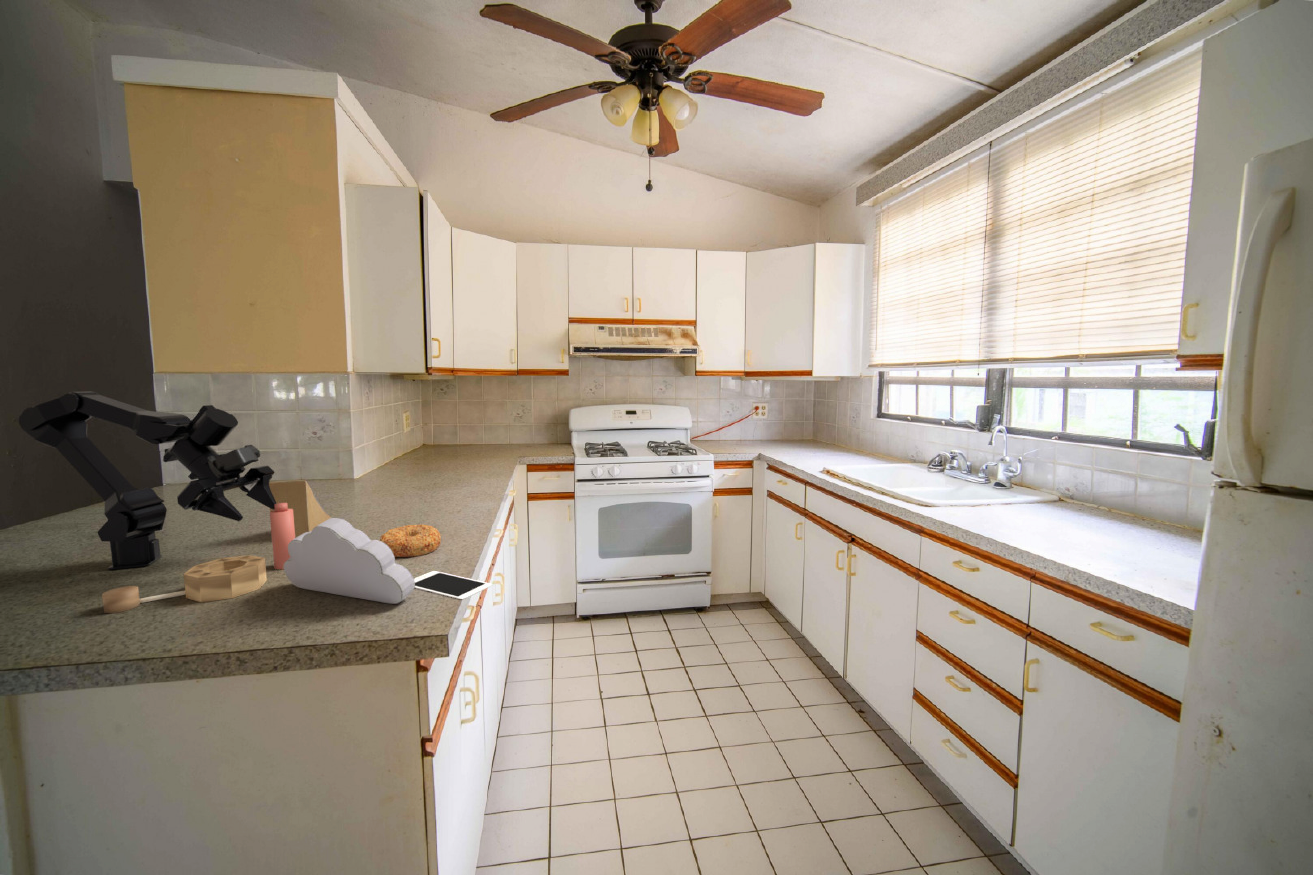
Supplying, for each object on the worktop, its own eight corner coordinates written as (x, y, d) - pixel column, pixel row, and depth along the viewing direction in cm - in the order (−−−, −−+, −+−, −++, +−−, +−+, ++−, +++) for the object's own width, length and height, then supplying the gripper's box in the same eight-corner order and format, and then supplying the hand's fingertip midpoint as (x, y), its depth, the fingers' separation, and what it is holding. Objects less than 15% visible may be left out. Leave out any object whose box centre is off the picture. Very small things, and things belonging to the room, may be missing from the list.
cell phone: (434, 573, 109) (433, 570, 109) (493, 587, 102) (493, 583, 102) (401, 586, 102) (400, 583, 102) (462, 602, 95) (462, 598, 95)
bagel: (401, 540, 130) (400, 520, 129) (452, 543, 128) (451, 523, 127) (365, 558, 117) (364, 536, 116) (422, 561, 115) (420, 539, 114)
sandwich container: (336, 523, 145) (332, 469, 143) (311, 539, 130) (306, 480, 128) (301, 524, 143) (297, 470, 141) (272, 541, 128) (266, 481, 127)
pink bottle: (271, 570, 109) (266, 507, 107) (277, 564, 112) (272, 502, 111) (294, 568, 110) (289, 505, 109) (299, 561, 114) (294, 501, 112)
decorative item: (269, 594, 97) (263, 515, 95) (318, 576, 106) (312, 503, 105) (389, 616, 88) (384, 530, 87) (430, 594, 98) (427, 515, 96)
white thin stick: (117, 608, 91) (116, 603, 91) (118, 606, 92) (117, 602, 92) (208, 590, 98) (207, 586, 98) (208, 589, 99) (207, 585, 99)
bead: (177, 605, 92) (175, 580, 92) (203, 582, 102) (201, 560, 102) (254, 595, 96) (252, 571, 96) (271, 574, 107) (269, 553, 106)
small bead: (98, 614, 88) (95, 597, 88) (112, 604, 92) (110, 588, 92) (132, 610, 90) (130, 593, 90) (145, 600, 94) (143, 584, 94)
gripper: (184, 439, 99) (246, 497, 100) (262, 429, 118) (314, 478, 119) (149, 480, 100) (211, 537, 101) (231, 464, 119) (283, 512, 120)
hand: (259, 513), depth 110 cm, fingers open, 9 cm apart
